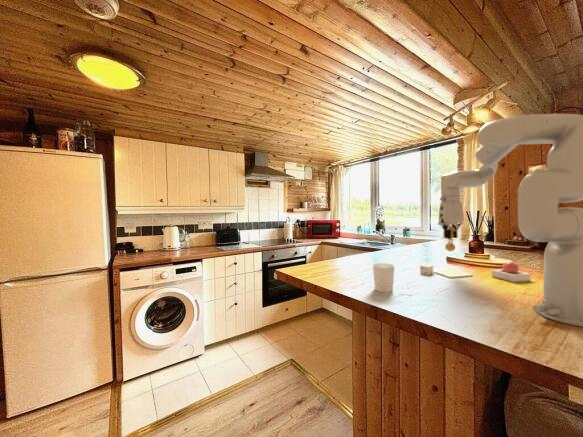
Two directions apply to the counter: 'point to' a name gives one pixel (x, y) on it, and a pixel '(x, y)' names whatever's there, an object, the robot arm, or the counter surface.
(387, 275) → the white cup
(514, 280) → the popper box
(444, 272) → the tile
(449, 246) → the figurine
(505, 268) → the dome button
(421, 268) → the ivory die
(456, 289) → the counter surface
